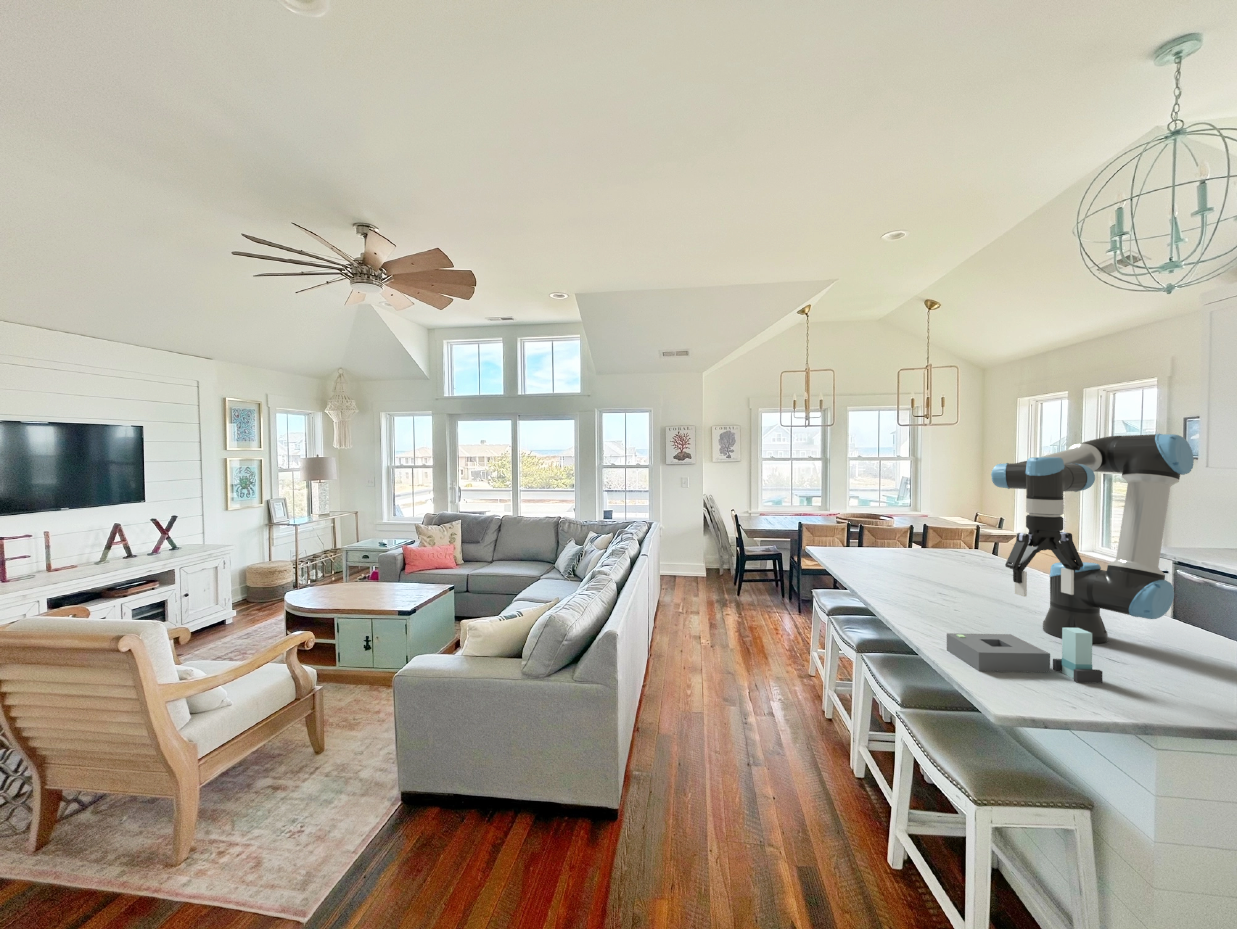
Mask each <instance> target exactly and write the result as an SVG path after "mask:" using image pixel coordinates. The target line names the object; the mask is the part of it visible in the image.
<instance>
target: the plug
mask: <svg viewBox="0 0 1237 929" xmlns="http://www.w3.org/2000/svg"><path fill="white" fill-rule="evenodd" d="M1061 659H1062V672H1061V674H1064V675H1065V676H1068V677H1070V678H1071V679H1073V680H1074V669H1093V643H1092V633H1090V632H1088V631H1085V630H1083V629H1080V628H1062V638H1061Z"/></svg>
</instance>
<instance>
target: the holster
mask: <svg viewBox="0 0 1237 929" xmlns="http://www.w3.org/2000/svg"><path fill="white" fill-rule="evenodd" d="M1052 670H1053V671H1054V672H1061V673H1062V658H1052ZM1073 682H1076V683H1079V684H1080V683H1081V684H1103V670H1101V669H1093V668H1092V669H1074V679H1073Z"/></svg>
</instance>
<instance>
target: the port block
mask: <svg viewBox="0 0 1237 929" xmlns="http://www.w3.org/2000/svg"><path fill="white" fill-rule="evenodd" d="M946 651H947V652H949V653H950V654H952V655H953V656H955V657H956V658H958V659H960V660H961V661H963V662H964V663H966V664H967V665H969V666H971V668H973V669H975V670H977V671H978V672H1002V673H1003V672H1004V673H1005V672H1008V673H1009V672H1011V673H1051V653H1050V652H1048V651H1046V650H1044V649H1042V648H1040V647H1037V646H1035V645H1034V644H1032V643H1030V642H1027V641H1025V640H1023V639H1021V638H1020V637H1017V636H1015V635H1014V634H1011V633H959V632H958V633H955V632H954V633H952V632H950V633H949V632H947V633H946Z"/></svg>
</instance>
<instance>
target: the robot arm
mask: <svg viewBox="0 0 1237 929" xmlns="http://www.w3.org/2000/svg"><path fill="white" fill-rule="evenodd" d="M1194 464H1195V463H1194V453H1193V450H1192V448H1191V446H1190V443H1189V442H1188V440H1187V439H1185V437H1183V436H1181V435H1179V434H1175V433H1173V434H1170V433H1169V434H1167V433H1166V434H1165V433H1164V434H1163V433H1155V434H1153V433H1152V434H1133V435H1112V436H1103V437H1100V438H1096V439H1091V440H1087V441H1084V442H1080V443H1076V444H1073V445H1071V446H1069V447H1068V448H1067V449H1066V450H1062V451H1058V452H1054V453H1050V454H1047V455H1042V456H1039V457H1036V456H1035V457H1029V458H1028V459H1026V460H1024V461H1019V462H1016V463H1015V462H1013V463H1009V462H1006V463H997V464H996V465H994V466H993V468H992V470H991V474H990V475H991V481H992V484H993V485H994V486H995V487H997V488H1001V489H1008V490H1010V489H1013V490H1014V489H1016V490H1026V495H1025V496H1026V498H1025V503H1026V504H1025V509H1026V510H1025V512H1026V513H1028V514H1027V515H1025V527H1026V528H1027V529H1028V533H1023V532H1017V533H1016V539H1015V542H1014V544H1013V547H1012V549H1011V551H1010V553H1009V555H1008V558H1007V560H1006V562H1005V568H1008V569H1010V570H1012V582H1013V583H1014V594H1015V595H1018V596H1021V597H1027V595H1028V587H1027V586H1028V584H1027V582H1028V581H1027V580H1028V578H1027V577H1028V576H1027V575H1028V574H1027V573H1028V572H1027V571H1025V569H1026V568H1027V567H1028V565H1029V564H1030V563H1031V562H1032V560H1033V559H1034V558H1035V556H1036V555H1037V554H1038V553H1040V552H1041V551H1047V550H1048V551H1051V552H1052V553H1053V554H1054V556H1055V557H1056V558H1057V560H1058V561H1059V562H1055V563H1052V565H1051V566H1050V572H1049V608H1048V610H1047V613H1046V615H1045V618H1044V620H1043V621H1042V630H1043V631H1044V632H1045V633H1047V634H1049V635H1051V636H1054V637H1058V638H1060V639H1062V628H1080V629H1083V630H1085V631H1088V632H1090V633H1092V644H1104V643H1107V642H1108V641H1109V639H1108V638H1109V634H1108V631H1107V629H1106V627H1105V624H1104V622H1103V619H1102V616H1101V609H1102V610H1105V611H1110V612H1113V613H1119V614H1124V615H1127V616H1131V617H1135V618H1142V619H1147V620H1157V619H1160V618H1162V617H1164V616H1165V614H1167V613H1168V611H1169V610H1170V608H1171V607H1172V605H1173V602H1174V598H1175V591H1174V590H1175V588H1174V586H1173V584H1172V583H1171V582H1170V581H1167V579H1166V574H1165V572H1163V571H1162V570H1161V569H1160V567H1159V565H1160V557H1161V552H1162V545H1163V544H1162V543H1163V539H1164V533H1165V532H1164V531H1165V526H1166V525H1165V524H1166V519H1167V511H1168V504H1169V498H1170V491H1171V487H1172V486H1174V485H1175V484H1177V483H1179V482H1180V477H1181V475H1182V476H1184V475H1187V474H1190V473H1191V472H1192V469H1193V467H1194ZM1095 472H1098V473H1099V472H1101V473H1115V474H1116V473H1119V474H1121V478H1122V479H1123V480H1124V481H1125V482H1127V487H1126V491H1125V492H1126V493H1125V500H1124V505H1123V512H1122V518H1121V519H1122V520H1121V523H1120V524H1121V526H1120V532H1119V538H1118V545H1117V551H1116V558H1115V560H1114V561H1112V562H1109V563H1107V568H1106V569H1105V570H1104V569H1102V567H1101V565H1100V564H1099V563H1095V562H1084V561H1082V559H1081V556H1080V553H1079V551H1078V550H1077V549H1078V548H1076V546H1075V543H1074V542H1073V541H1074V539H1073V534H1072V533H1071V532H1068V531H1067V532H1065V531H1063V530H1064V517H1063V516H1062V515H1064V514H1065V511H1064V508H1065V507H1064V501H1065V500H1064V492H1074V493H1077V492H1081V491H1086V490H1089V489H1090V488H1091V487H1092V486H1093V485H1094V483H1095V480H1096V475H1095Z"/></svg>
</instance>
